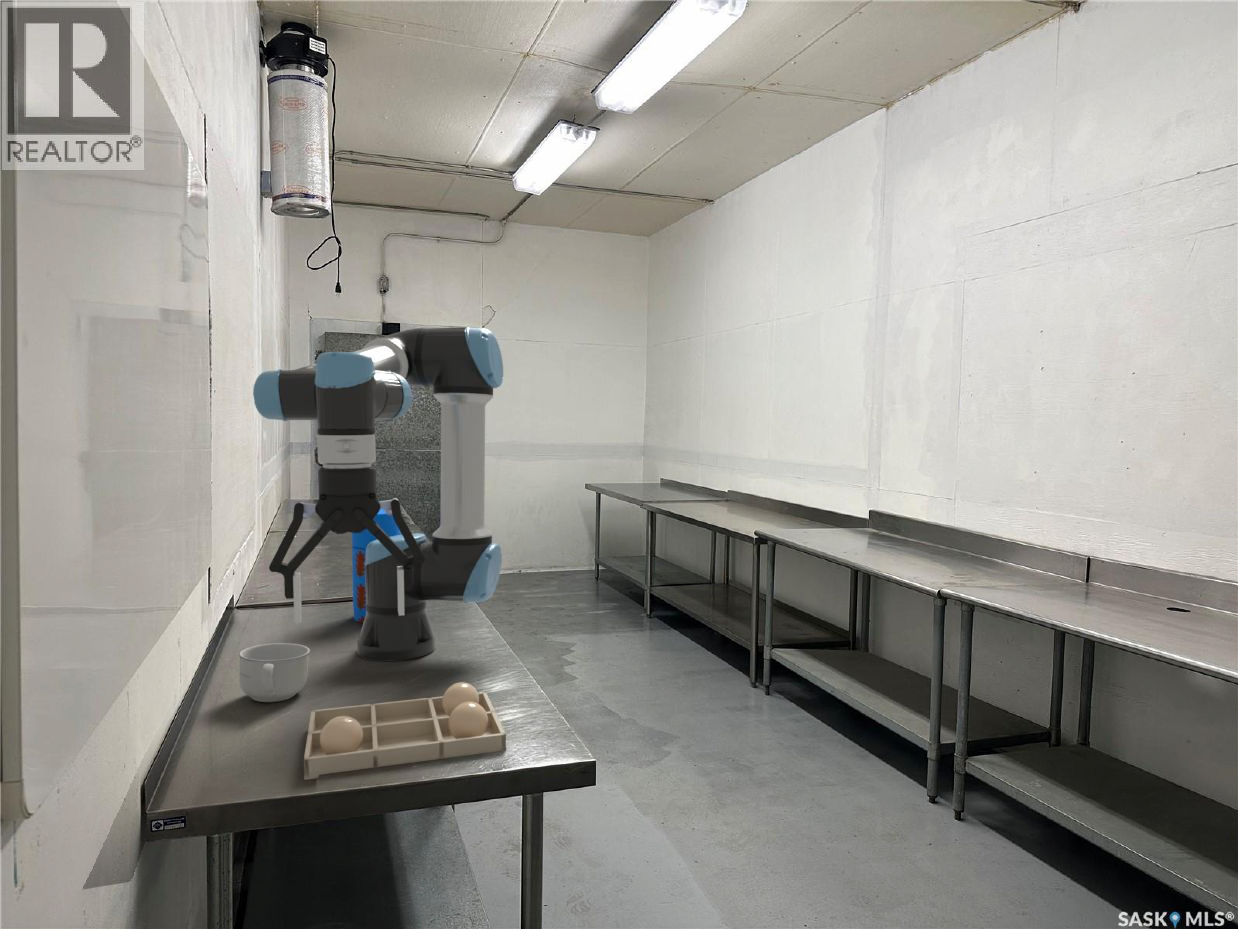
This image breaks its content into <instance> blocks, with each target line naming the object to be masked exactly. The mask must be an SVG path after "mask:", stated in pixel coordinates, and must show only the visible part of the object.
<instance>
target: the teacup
mask: <svg viewBox="0 0 1238 929" xmlns="http://www.w3.org/2000/svg"><path fill="white" fill-rule="evenodd" d="M310 652H311V650H310V648H309V647H307V645H302V644H299V643H289V642H287V643H286V642H273V643H265V644H264V643H263V644H257V645H254V646H250V647H246V648H244V649H243V650H241V651H240V652H239V655H238V656H239V686H240V688H241V691H242V692H243V693H244V694H245V695H247V696H248V697H250V698H251V699H252V700H253V701H255V702H260V703H261V702H262V703H276V702H281V701H286V700H290V699H291V698H293V697H294V696H295V695H297V694H298V693H299V692H301V690H302V689H303V688H304V687H305V685H306V683H307V680H308V673H309V672H308V670H309V659H310V658H309V657H310Z"/></svg>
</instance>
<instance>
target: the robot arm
mask: <svg viewBox="0 0 1238 929" xmlns="http://www.w3.org/2000/svg"><path fill="white" fill-rule="evenodd" d="M502 356H503V355H502V351H501V348H500V344H499V342H498V340H497V338H496V337H495V335H494V333H493V332H492V331H491V330H489V329H487V328H480V327H470V326H466V327H435V328H434V327H429V328H427V327H426V328H425V327H419V328H418V327H416V328H411V329H405V330H401V331H398V332H395V333H391V334H388V335H384V336H381V337H378V338H375V339H373V340H371V341H369V342H367V343H366V344H365V345H364V346H363V348H362V349H358V350H355V351H328V352H327V351H326V352H322V353H319V355H318V356H317V358H316V360H315V361H316V362H315V363H313V364H310V365H307V366H303V367H299V368H296V369H290V370H286V369H285V370H284V369H282V368H281V369H277V370H266V371H263V372H261V373H260V374H259V375H258V376H257V378H256V379H255V380H254V381H255V382H254V385H253V391H252V394H253V396H252V397H253V402H254V406H255V408H256V410H257V412H258V413H259V415H261V416H262V417H263V418H265V419H267V420H274V421H275V420H277V421H283V422H287V421H316V422H317V423H316V424H317V429H316V430H317V435H316V437H317V439H316V440H317V442H316V443H317V444H316V445H317V462H318V464H320V465H322V466H321V467H320V468H319V469H318V472H317V475H318V479H317V480H318V481H317V482H318V500H317V502H316V503H310V502H304V501H302V500H298V501H297V502H295V504H294V506H293V513H292V514H293V516H292V520H291V523H290V524H289V526H288V528H287V530H286V533H285V535H284V537H283V538H282V541H281V542H280V545H279V546H278V548H277V550H276V553H275V554H274V556H273V558H272V560H271V562H270V563H269V567H268V570H269V571H270V572H271V573H276V574H277V573H278V574H281V575H282V576H283V582H284V583H283V584H284V585H283V587H284V597H285V599H286V600H289V599H293V613H294V614H293V617H294V618H293V621H294V622H293V623H294V625H298V624H299V625H300V624H301V623H302V619H303V617H302V616H303V612H302V609H303V608H302V582H301V580H302V579H301V577H302V576H301V575H302V574H301V572H300V571H297V569H299V567H301V566H302V564H303V563H304V561H305V560H307V558H308V557H309V556H310V555H311V553H312V552H313V551H314V550H315V548H316V547H317V546H318V545H319V544H320V542H322V540H323V539H324V538H325V537H326V536H327V535H328V533H329V532H332V533H335V534H336V535H343V534H346V533H351V534H352V533H361V532H362V531H364V530H366V529H367V530H368V531H369V532H370V533H371V534H372V535H373V536H375V537H376V538H377V540H375V541H372V542H371V543H369V544H368V546H367V548H366V558H365V578H366V617H365V620H364V623H363V624H362V627H361V629H360V632H359V635H358V639H357V647H356V648H357V652H356V653H357V655H358V656H359V657H360V658H363V659H366V660H370V661H377V662H393V661H394V662H395V661H405V660H411V659H412V660H413V659H416V658H421V657H424V656H426V655H428V654H431V653H432V652H434V651H435V649H436V637H435V633H434V629H433V627H432V625H431V621H430V618H429V616H428V613H427V601H428V602H429V601H432V602H435V601H436V602H454V603H455V602H456V603H458V602H459V603H464V604H469V603H483V602H485V601H487V600H489V599H490V598H491V596H492V595H494V593H495V590H496V588H497V585H498V583H499V578H500V574H501V569H502V558H503V557H502V556H503V554H502V548H501V545H499V544H498V543H496V542H493V533H492V532H491V531H490V529H488V528H487V527H486V524H485V496H486V495H485V494H486V493H485V485H486V483H485V478H486V477H485V476H486V474H485V472H486V471H485V468H486V467H485V466H486V453H485V452H486V406H487V404H488V403H489V402H490V401H491V400H492V399H493V398H494V389H497V388H500V386H502V384H503V381H504V380H503V377H504V365H503V357H502ZM411 387H417V388H432V390H433V391H432V392H433V397H434V398H435V399H436V400H437V401H438V402H439V403H440V405H441V406H440V521H439V522H440V524H439V527H438V528H437V529H436V530H435V531H434V532H433V533H432V541H427V537H426V534H424V533H418V532H417V533H415V532H414V533H412V531H411V529H410V527H409V525H408V524H407V522H406V520H405V518H404V516H403V515H402V510H401V509H402V508H401V504H400V500H399V499H398V498H397V497H392V498H391V499H387V500H380V501H379V499H378V497H377V468H375V467H374V466H372V464H374V463H375V462H376V461H377V460H376V459H377V458H376V456H377V455H376V454H377V453H376V451H377V450H376V449H377V448H376V422H378V421H380V422H391V421H393V420H397V419H399V418H401V417H403V416H404V415H405V414H406V413H407V412H408V411H409V409H410V407H411V404H412V401H413V392H412V389H411ZM380 509H383V510H385V512H386V514H387V515H392V516H393V519H394V521H395V523H396V525H397V527H398V528H399V530H400V532H401V535H397V536H391V537H389V536H388V535H387V534H386V533H385V532H384V531H383V530H382V529H381V528H380V526H379V525H378V524H377V523H376V522H375V521H374V520H373V519H374V518H375V516H376V515H377V514H378V512H379V511H380ZM314 512H315V514H317V516H318V517H319V518H320V519H321V521H322V522H321V524H320V525H319V527H318V528H317V529H316V530H315V531H314V533H312V535H311V536H310V537H309V538H308V540H306V542H305V543H304V544H303V545H302V546H301V548H300V549H299V550H298V551H297V553H296V554H295V555H294V556H293V557H292V558H291V559H290V561H289V562H288V563H286V562H283V561H284V559H285V557H286V555H287V553H288V552H289V549H290V547H291V546H292V543H293V541H294V539H295V537H296V535H297V533H298V531H299V530H300V527H301V526H302V524H303V521H304V519H305V520H306V519H309V517H310V516H311V514H312V513H314ZM296 571H297V572H296Z"/></svg>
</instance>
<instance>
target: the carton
mask: <svg viewBox="0 0 1238 929" xmlns="http://www.w3.org/2000/svg"><path fill="white" fill-rule="evenodd" d="M478 695H479V705H481V706H482V707H483V708H484V709H485V711H486V713H487V716H488V726H487V729H486V731H485V733H484V734H483V735H482V736H475V737H467V738H459V739H456V738H455V737H454V736H453V735H452V734H451V732H450V729H449V717H450V716H448V715H447V714H446V713H445V711H444V709H443V705H442V700H443V696H444V695H442V696H441V695H440V696H435V697H434V696H432V697H424V698H423V697H422V698H414V699H406V700H396V701H387V702H386V701H385V702H380V703H379V702H378V703H377V702H376V703H370V704H369V703H367V704H366V703H365V704H360V705H349V706H348V705H347V706H342V707H341V706H339V707H331V708H329V707H328V708H323V709H322V708H320V709H311V711H310V717H309V724H308V728H307V736H306V737H307V738H306V743H305V750H304V756H303V779H304V781H306V780H307V781H308V780H314V779H319V778H320V777H319V776H320V775H326V774H327V775H328V774H333V773H341V772H342V773H343V772H350V771H357V770H363V769H364V770H365V769H373V768H380V767H387V766H394V765H395V766H396V765H404V764H409V763H417V762H418V763H419V762H425V761H433V760H434V761H435V760H441V759H447V758H456V757H462V756H463V757H464V756H470V755H477V754H486V753H492V752H500V751H506V750H507V734H506V732H505V730H504V727H503V725H502V723H501V721H500V719H499V717H498V715H497V712H496V710H495V708H494V706H493V704H492V702H491V700H490V698H489V695H488V693H487V691H481V692H478ZM338 716H349V717H352V718H354V719H356V720H357V721H358V722H359V723H360V725H361V727H362V730H363V740H362V743H361V745H360V747H359V749H358V750H357V751H355V752H347V753H339V754H331V755H326V754H325V753H324V751H323V750H322V748H321V745H320V734H321V731H322V729H323V728H324V726H325V725H326V724H327V723H328V722H329V721H330V720H331V719H333V718H335V717H338Z"/></svg>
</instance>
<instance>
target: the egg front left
mask: <svg viewBox="0 0 1238 929" xmlns="http://www.w3.org/2000/svg"><path fill="white" fill-rule="evenodd" d="M487 726H488V716H487V713H486V711H485V709H484V708H483V707H482V706H481V705H479V704H477V703H475V702H464V703H461V704H459V705H458V706H457V707H455V708H454V710H453V711H452V713H451V714H450V717H449V729H450V732H451V734H452V735H453V736H454V737H455V738H456V739H459V738H467V737H475V736H482V735H483V734H484V733H485V731H486V729H487Z"/></svg>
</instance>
